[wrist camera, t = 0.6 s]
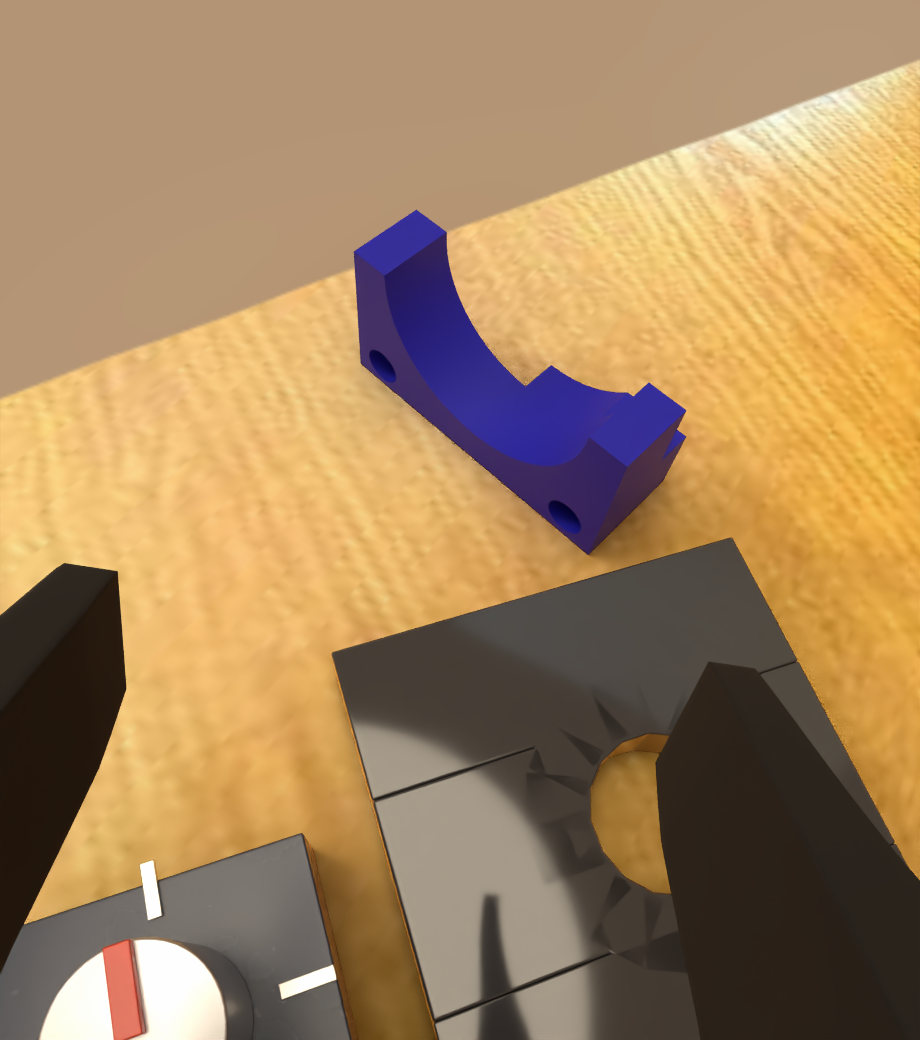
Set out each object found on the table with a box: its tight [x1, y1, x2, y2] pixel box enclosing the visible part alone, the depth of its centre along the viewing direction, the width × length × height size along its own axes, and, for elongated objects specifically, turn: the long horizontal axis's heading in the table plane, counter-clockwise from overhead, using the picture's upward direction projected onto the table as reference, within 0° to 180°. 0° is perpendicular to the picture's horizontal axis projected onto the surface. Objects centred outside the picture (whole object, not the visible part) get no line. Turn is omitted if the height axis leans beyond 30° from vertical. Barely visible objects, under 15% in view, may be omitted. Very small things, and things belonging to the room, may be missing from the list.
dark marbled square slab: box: [332, 538, 909, 1040], centre depth 25 cm, size 15×14×2 cm
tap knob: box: [39, 937, 253, 1040], centre depth 19 cm, size 4×4×4 cm
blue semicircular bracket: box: [354, 210, 686, 555], centre depth 31 cm, size 12×4×6 cm, turn 46°
